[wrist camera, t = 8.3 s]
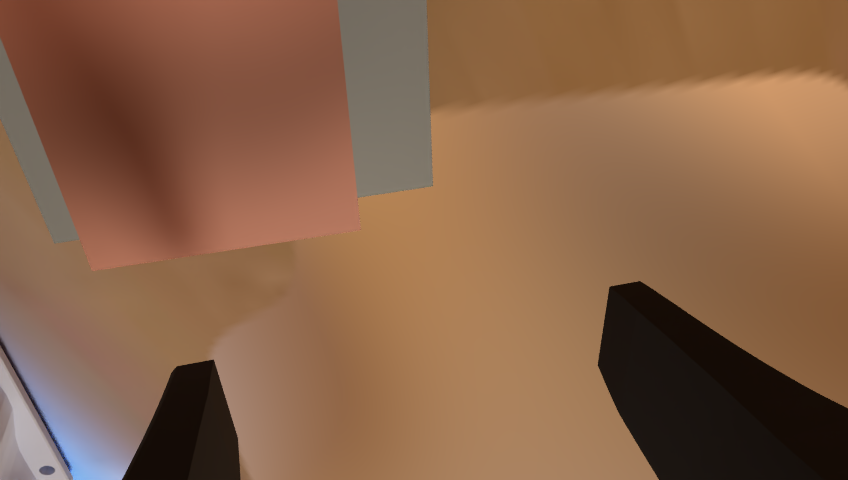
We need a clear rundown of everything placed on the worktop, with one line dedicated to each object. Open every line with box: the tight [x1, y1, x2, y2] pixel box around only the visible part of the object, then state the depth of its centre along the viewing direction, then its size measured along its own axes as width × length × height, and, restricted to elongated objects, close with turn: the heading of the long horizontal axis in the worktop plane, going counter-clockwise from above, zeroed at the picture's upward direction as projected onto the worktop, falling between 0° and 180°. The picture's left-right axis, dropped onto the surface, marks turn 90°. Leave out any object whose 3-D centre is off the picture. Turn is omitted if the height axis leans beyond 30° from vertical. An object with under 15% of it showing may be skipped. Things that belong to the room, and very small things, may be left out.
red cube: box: [0, 0, 361, 271], centre depth 14 cm, size 5×5×5 cm
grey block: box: [0, 0, 433, 243], centre depth 17 cm, size 10×10×4 cm
